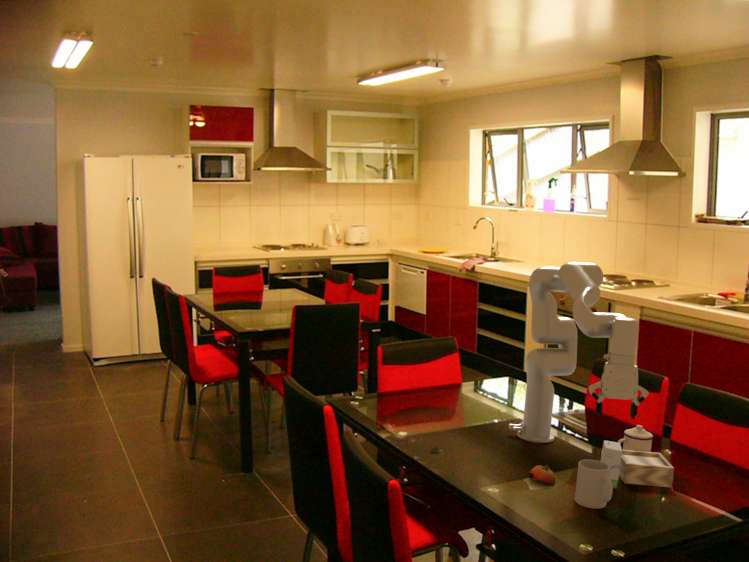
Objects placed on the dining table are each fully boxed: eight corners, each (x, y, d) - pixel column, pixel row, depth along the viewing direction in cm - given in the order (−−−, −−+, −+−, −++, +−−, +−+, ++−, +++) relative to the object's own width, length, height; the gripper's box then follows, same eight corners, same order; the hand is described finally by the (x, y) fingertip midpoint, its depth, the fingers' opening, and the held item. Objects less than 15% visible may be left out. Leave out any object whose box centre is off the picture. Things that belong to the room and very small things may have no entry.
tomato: (550, 484, 232) (538, 461, 235) (532, 495, 235) (520, 472, 238) (562, 482, 238) (551, 459, 241) (544, 492, 241) (533, 470, 244)
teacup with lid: (639, 455, 269) (643, 421, 268) (656, 464, 261) (660, 429, 259) (607, 456, 266) (611, 421, 265) (623, 465, 257) (627, 430, 256)
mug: (568, 498, 225) (572, 460, 224) (592, 495, 229) (596, 458, 228) (596, 515, 215) (600, 475, 213) (621, 512, 218) (625, 473, 217)
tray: (624, 483, 241) (626, 463, 240) (613, 467, 255) (615, 449, 254) (671, 487, 240) (674, 468, 240) (658, 471, 254) (660, 452, 253)
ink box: (598, 477, 245) (602, 439, 244) (615, 479, 244) (619, 441, 243) (600, 486, 237) (604, 447, 235) (618, 489, 236) (622, 450, 234)
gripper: (594, 359, 233) (588, 417, 235) (655, 364, 232) (648, 422, 234) (589, 354, 240) (583, 410, 242) (647, 359, 239) (641, 415, 241)
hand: (615, 416), depth 238 cm, fingers open, 9 cm apart
